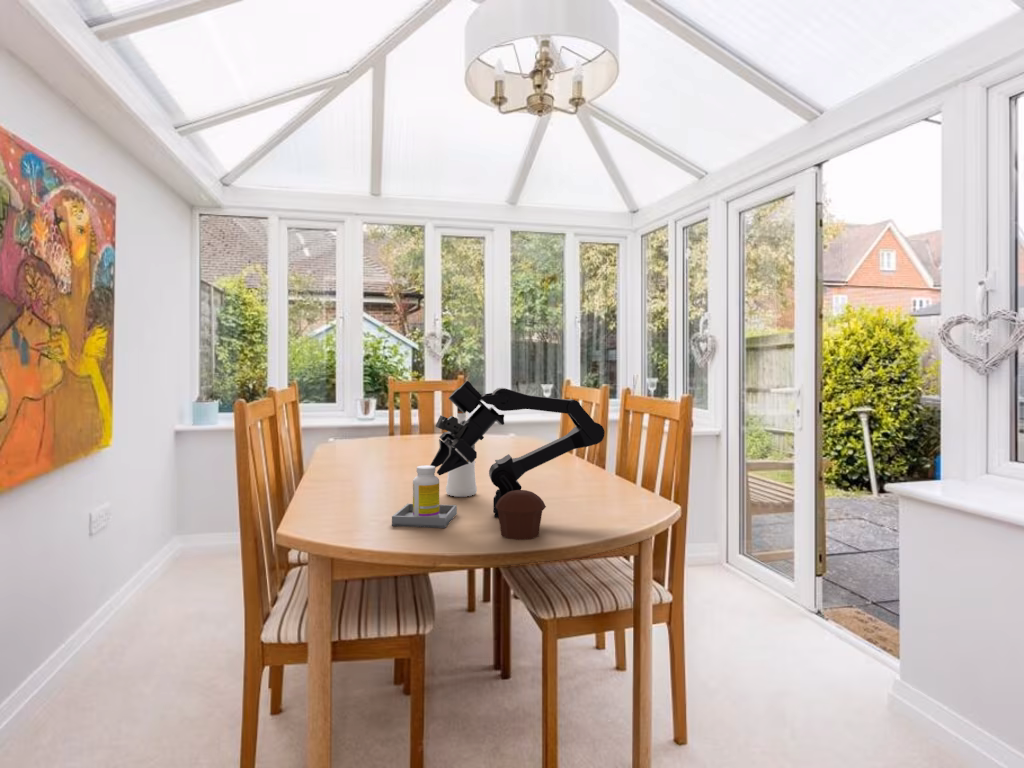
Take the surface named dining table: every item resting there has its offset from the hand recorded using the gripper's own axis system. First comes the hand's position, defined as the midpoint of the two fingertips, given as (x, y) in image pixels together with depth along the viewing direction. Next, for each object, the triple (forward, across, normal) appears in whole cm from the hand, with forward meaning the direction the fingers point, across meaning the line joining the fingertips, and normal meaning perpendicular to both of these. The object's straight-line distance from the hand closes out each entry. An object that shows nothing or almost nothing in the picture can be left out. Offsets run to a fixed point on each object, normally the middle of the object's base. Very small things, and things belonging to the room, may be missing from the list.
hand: (434, 470), depth 150 cm
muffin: (-3, +19, +21) cm, 28 cm away
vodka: (0, -26, +18) cm, 32 cm away
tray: (+10, 0, +7) cm, 13 cm away
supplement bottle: (+10, 0, +7) cm, 12 cm away
